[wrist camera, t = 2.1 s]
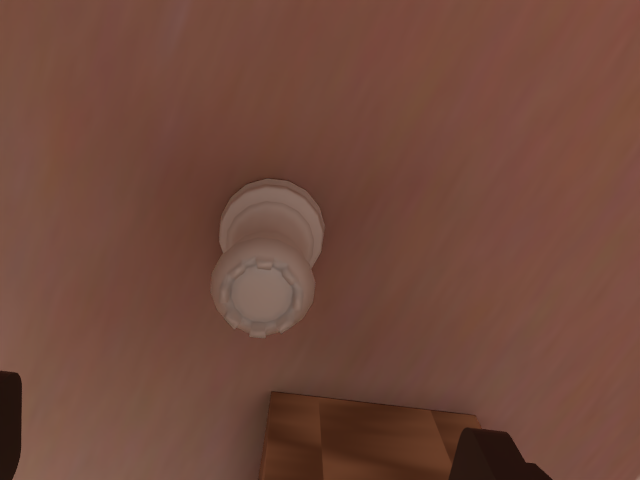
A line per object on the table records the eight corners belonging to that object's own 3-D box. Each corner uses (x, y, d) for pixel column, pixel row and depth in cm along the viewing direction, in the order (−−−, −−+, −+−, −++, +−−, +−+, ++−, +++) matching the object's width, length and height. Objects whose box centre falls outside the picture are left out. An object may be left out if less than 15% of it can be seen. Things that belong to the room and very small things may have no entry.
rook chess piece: (306, 287, 25) (309, 383, 17) (209, 259, 24) (168, 344, 17) (338, 194, 24) (357, 252, 16) (237, 162, 23) (206, 207, 16)
